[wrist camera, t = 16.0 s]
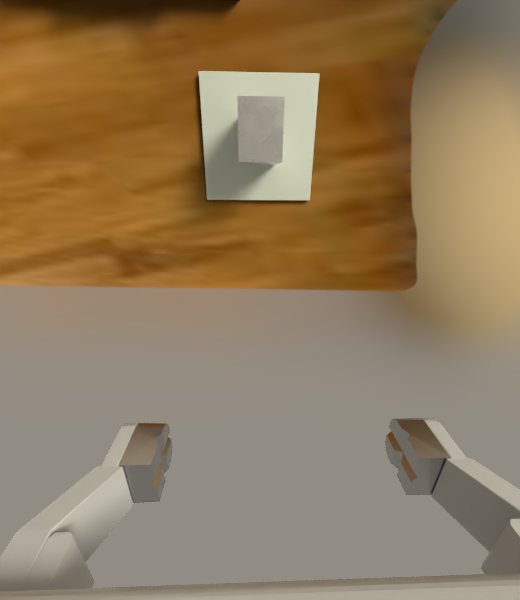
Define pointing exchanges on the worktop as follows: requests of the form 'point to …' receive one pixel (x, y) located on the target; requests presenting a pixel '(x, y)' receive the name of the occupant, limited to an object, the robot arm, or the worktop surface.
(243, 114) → the grey rectangular block
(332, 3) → the worktop surface
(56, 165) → the worktop surface
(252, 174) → the cutting board
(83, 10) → the worktop surface
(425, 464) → the robot arm
